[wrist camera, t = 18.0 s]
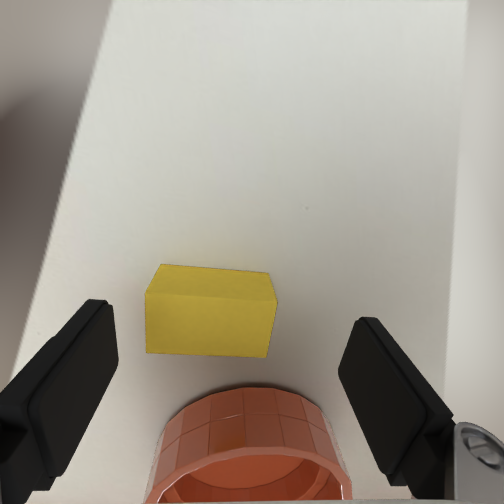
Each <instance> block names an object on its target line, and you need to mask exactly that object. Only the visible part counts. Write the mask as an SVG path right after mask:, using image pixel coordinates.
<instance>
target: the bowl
mask: <svg viewBox="0 0 504 504" xmlns="http://www.w3.org/2000/svg"><path fill="white" fill-rule="evenodd" d="M302 500H352V484H351V480H350V477H349V474H348V471H347V469H346V466H345V463H344V461H343V458H342V455H341V453H340V450H339V447H338V444H337V442H336V439H335V436H334V434H333V431H332V428H331V425H330V423H329V421H328V420H327V418H326V417H325V416H324V414H323V413H322V411H321V410H320V408H319V407H317V406H316V405H314V404H313V403H311V402H310V401H308V400H306V399H305V398H303V397H302V396H299V395H297V394H293V393H290V392H286V391H282V390H279V389H275V388H247V387H243V388H238V389H234V390H229V391H225V392H220V393H215V394H211V395H209V396H207V397H205V398H203V399H201V400H199V401H197V402H195V403H192V404H190V405H188V406H186V407H185V408H184V409H183V410H182V411H180V412H179V413H178V414H177V415H176V416H175V417H174V418H173V419H172V420H170V421H169V422H168V423H167V425H166V426H165V428H164V430H163V432H162V434H161V436H160V438H159V440H158V442H157V446H156V450H155V455H154V459H153V463H152V467H151V472H150V476H149V480H148V484H147V488H146V493H145V497H144V501H143V504H157V503H197V502H247V501H302Z"/></svg>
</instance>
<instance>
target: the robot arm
mask: <svg viewBox="0 0 504 504" xmlns="http://www.w3.org/2000/svg"><path fill="white" fill-rule="evenodd" d="M118 361H119V358H118V349H117V340H116V331H115V322H114V313H113V306H112V305H109V304H108V302H107V301H106V300H95V299H89V300H87V301H86V302H85V303H84V304H83V305H82V306H81V307H80V309H79V310H78V311H77V312H76V313H75V314H74V315H73V316H72V317H71V319H70V320H69V321H68V322H67V323H66V324H65V325H64V326H63V327H62V329H61V330H60V331H59V332H58V333H57V334H56V335H55V336H54V337H52V338H51V339H49V340H48V341H47V342H46V343H45V344H44V346H43V347H42V348H41V349H40V350H39V351H38V352H37V353H36V354H35V355H34V357H33V358H32V359H31V360H30V361H29V362H28V363H27V364H26V365H25V366H24V368H23V369H22V370H21V371H20V372H19V373H18V374H17V375H16V376H15V377H14V379H13V380H12V381H11V382H10V383H9V384H8V385H7V386H6V387H5V388H4V390H3V391H2V392H1V393H0V504H24V503H26V502H27V500H28V498H29V496H30V495H31V493H32V491H49V490H50V488H51V486H52V484H53V482H54V480H55V479H56V477H60V476H62V475H63V473H64V472H65V470H66V469H67V467H68V465H69V463H70V461H71V459H72V457H73V455H74V453H75V451H76V449H77V447H78V445H79V443H80V441H81V439H82V437H83V435H84V433H85V431H86V429H87V427H88V425H89V423H90V421H91V419H92V417H93V415H94V413H95V411H96V409H97V407H98V405H99V403H100V401H101V399H102V397H103V395H104V393H105V391H106V389H107V387H108V385H109V383H110V381H111V379H112V377H113V375H114V373H115V371H116V369H117V366H118ZM338 375H339V379H340V381H341V383H342V385H343V388H344V390H345V392H346V395H347V397H348V399H349V401H350V404H351V406H352V408H353V411H354V413H355V415H356V417H357V420H358V422H359V424H360V427H361V429H362V431H363V433H364V436H365V438H366V440H367V443H368V445H369V447H370V449H371V452H372V454H373V456H374V459H375V461H376V463H377V465H378V468H379V469H380V471H381V472H382V473H383V474H385V475H386V477H387V479H388V482H389V484H390V486H407V485H408V487H409V489H410V491H411V493H412V497H411V499H377V500H302V501H247V502H197V503H157V504H504V444H503V443H502V441H500V440H499V439H498V438H497V437H495V436H494V435H493V434H491V433H490V432H488V431H487V430H485V429H484V428H482V427H480V426H477V425H475V424H472V423H468V422H459V423H458V424H455V422H454V421H453V420H452V419H451V418H452V417H453V413H452V412H451V411H450V409H449V408H448V407H447V406H446V405H445V403H444V402H443V401H442V399H441V398H440V397H439V396H438V394H437V393H436V392H435V391H434V389H433V388H432V387H431V385H430V384H429V383H428V382H427V380H426V379H425V378H424V377H423V375H422V374H421V373H420V372H419V370H418V369H417V368H416V367H415V365H414V364H413V363H412V361H411V360H410V359H409V358H408V356H407V355H406V354H405V353H404V351H403V350H402V349H401V348H400V346H399V345H398V344H397V343H396V341H395V340H394V339H393V337H392V336H391V335H390V334H389V332H388V331H387V330H386V329H385V327H384V326H383V325H382V324H381V322H380V321H379V320H378V319H377V318H375V317H360V318H359V320H356V321H355V323H354V326H353V328H352V331H351V334H350V337H349V340H348V343H347V345H346V348H345V351H344V354H343V357H342V359H341V362H340V365H339V368H338Z"/></svg>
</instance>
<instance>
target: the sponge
mask: <svg viewBox="0 0 504 504" xmlns="http://www.w3.org/2000/svg"><path fill="white" fill-rule="evenodd" d="M277 303H278V301H277V298H276V295H275V292H274V289H273V286H272V283H271V280H270V277H269V274H268V273H261V272H249V271H237V270H226V269H214V268H202V267H190V266H178V265H166V264H161V265H160V267H159V269H158V270H157V272H156V274H155V276H154V278H153V279H152V281H151V283H150V285H149V287H148V288H147V290H146V292H145V327H146V353H158V354H183V355H209V356H235V357H260V358H266V357H267V352H268V347H269V342H270V337H271V332H272V328H273V323H274V318H275V313H276V308H277Z"/></svg>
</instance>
